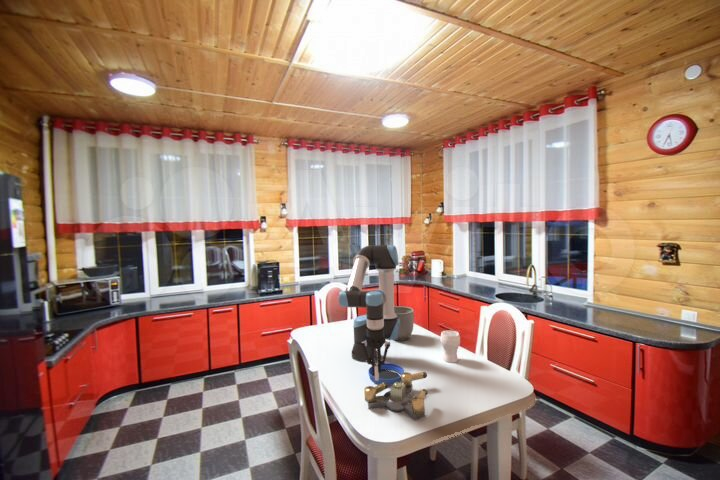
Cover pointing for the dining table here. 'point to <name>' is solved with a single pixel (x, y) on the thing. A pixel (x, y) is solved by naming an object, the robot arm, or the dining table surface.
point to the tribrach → (397, 400)
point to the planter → (404, 321)
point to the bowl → (387, 374)
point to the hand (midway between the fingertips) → (376, 379)
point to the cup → (450, 345)
